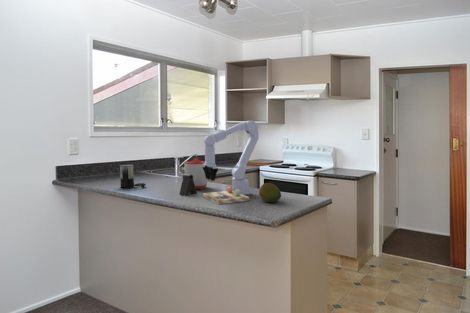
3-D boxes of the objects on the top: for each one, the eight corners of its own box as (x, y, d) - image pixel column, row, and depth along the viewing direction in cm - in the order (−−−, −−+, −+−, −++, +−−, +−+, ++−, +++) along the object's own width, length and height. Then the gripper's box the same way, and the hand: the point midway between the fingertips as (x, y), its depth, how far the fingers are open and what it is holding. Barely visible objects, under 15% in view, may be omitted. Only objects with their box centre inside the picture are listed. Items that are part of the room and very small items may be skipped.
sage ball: (239, 194, 206) (239, 188, 206) (242, 196, 203) (242, 189, 203) (233, 195, 204) (233, 189, 204) (236, 196, 201) (236, 190, 201)
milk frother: (119, 186, 250) (118, 165, 249) (142, 184, 257) (142, 163, 255) (122, 190, 237) (121, 167, 236) (147, 188, 244) (146, 165, 242)
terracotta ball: (231, 191, 216) (231, 185, 216) (233, 192, 213) (233, 186, 212) (225, 192, 214) (225, 186, 214) (228, 193, 211) (228, 187, 211)
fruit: (267, 198, 205) (267, 180, 204) (286, 201, 197) (286, 182, 196) (254, 202, 196) (254, 183, 195) (274, 205, 188) (274, 185, 187)
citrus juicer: (210, 190, 232) (209, 158, 230) (182, 190, 233) (182, 158, 231) (212, 185, 248) (211, 156, 246) (186, 186, 248) (185, 156, 246)
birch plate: (231, 193, 220) (231, 190, 220) (248, 200, 200) (248, 197, 200) (203, 196, 212) (203, 193, 212) (218, 204, 192) (218, 200, 192)
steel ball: (225, 200, 203) (225, 193, 202) (228, 201, 199) (228, 194, 199) (219, 200, 201) (219, 194, 201) (222, 201, 198) (222, 195, 198)
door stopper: (185, 196, 215) (185, 175, 214) (179, 194, 219) (178, 174, 218) (197, 193, 222) (196, 173, 221) (190, 192, 226) (190, 173, 225)
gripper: (199, 155, 218) (199, 178, 219) (208, 157, 205) (208, 182, 206) (210, 155, 221) (210, 177, 222) (219, 157, 208) (220, 180, 209)
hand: (210, 179), depth 214 cm, fingers open, 7 cm apart
